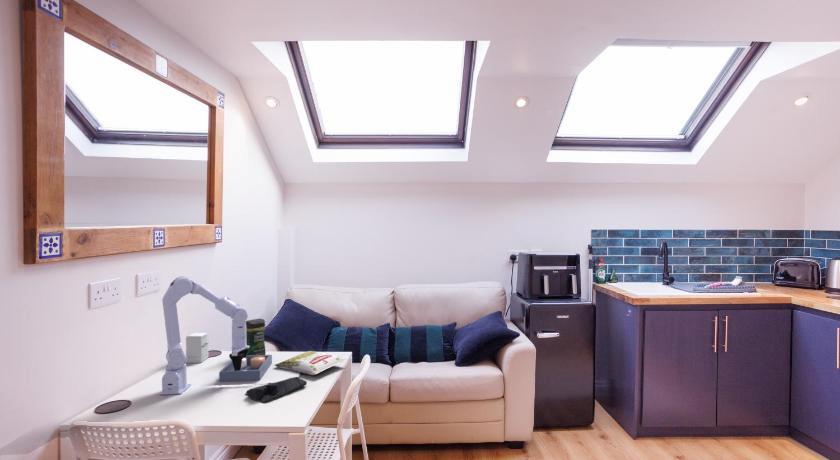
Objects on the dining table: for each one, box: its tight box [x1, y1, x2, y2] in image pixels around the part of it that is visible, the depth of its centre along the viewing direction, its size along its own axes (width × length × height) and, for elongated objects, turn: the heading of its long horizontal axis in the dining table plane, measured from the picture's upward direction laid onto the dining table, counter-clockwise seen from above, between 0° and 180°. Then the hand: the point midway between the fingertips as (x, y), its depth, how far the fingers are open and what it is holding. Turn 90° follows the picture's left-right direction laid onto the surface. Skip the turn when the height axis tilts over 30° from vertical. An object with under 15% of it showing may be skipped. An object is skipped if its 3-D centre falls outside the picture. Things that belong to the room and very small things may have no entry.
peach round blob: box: [251, 356, 265, 370], centre depth 203 cm, size 6×6×4 cm
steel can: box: [234, 357, 247, 371], centre depth 193 cm, size 5×5×7 cm
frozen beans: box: [274, 350, 346, 376], centre depth 205 cm, size 21×6×25 cm
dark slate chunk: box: [244, 376, 308, 404], centre depth 178 cm, size 15×22×5 cm
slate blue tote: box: [218, 354, 273, 383], centre depth 197 cm, size 22×16×5 cm
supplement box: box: [185, 332, 209, 364], centre depth 217 cm, size 7×7×13 cm
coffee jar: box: [246, 318, 267, 356], centre depth 221 cm, size 10×8×19 cm
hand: (239, 368), depth 193 cm, fingers open, 5 cm apart
